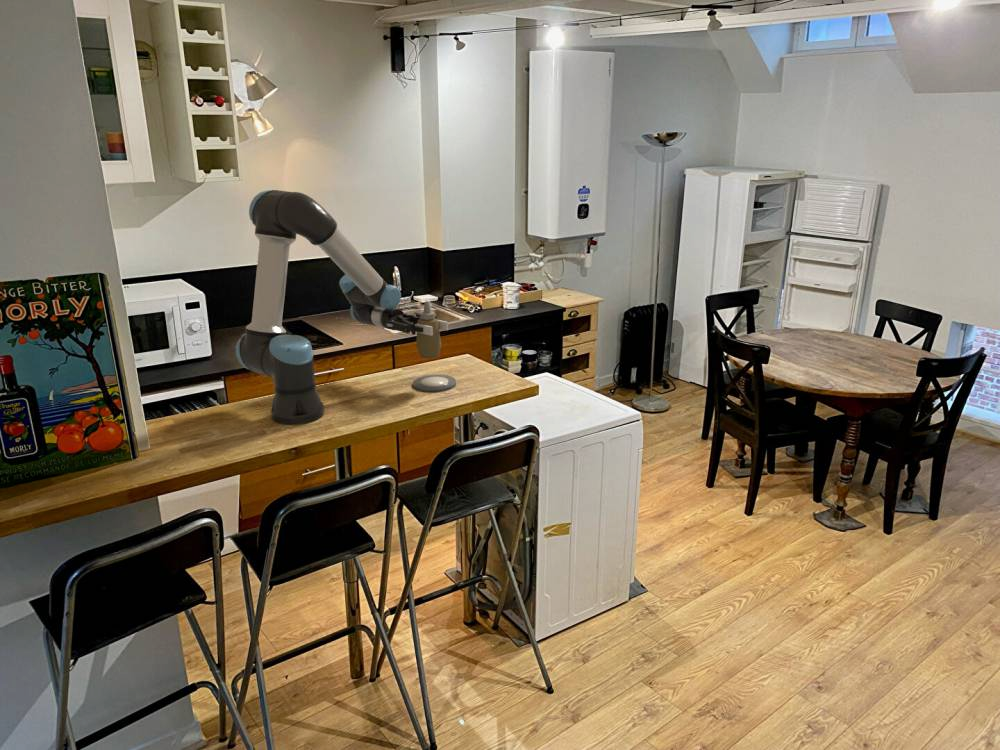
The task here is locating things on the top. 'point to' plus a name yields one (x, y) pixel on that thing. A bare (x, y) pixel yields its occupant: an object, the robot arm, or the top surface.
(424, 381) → the coaster
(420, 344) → the squeeze bottle
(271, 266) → the robot arm
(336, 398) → the top surface
